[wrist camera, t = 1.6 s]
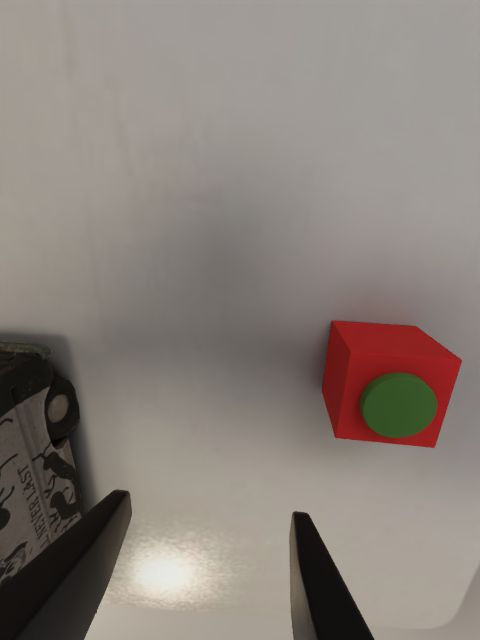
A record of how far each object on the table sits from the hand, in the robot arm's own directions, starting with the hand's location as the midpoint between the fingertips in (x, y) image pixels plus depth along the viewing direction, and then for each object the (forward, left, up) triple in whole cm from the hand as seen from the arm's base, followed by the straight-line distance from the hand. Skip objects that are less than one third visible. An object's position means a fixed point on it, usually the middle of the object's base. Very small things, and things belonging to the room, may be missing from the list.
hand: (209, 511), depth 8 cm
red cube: (-7, -2, -11) cm, 13 cm away
